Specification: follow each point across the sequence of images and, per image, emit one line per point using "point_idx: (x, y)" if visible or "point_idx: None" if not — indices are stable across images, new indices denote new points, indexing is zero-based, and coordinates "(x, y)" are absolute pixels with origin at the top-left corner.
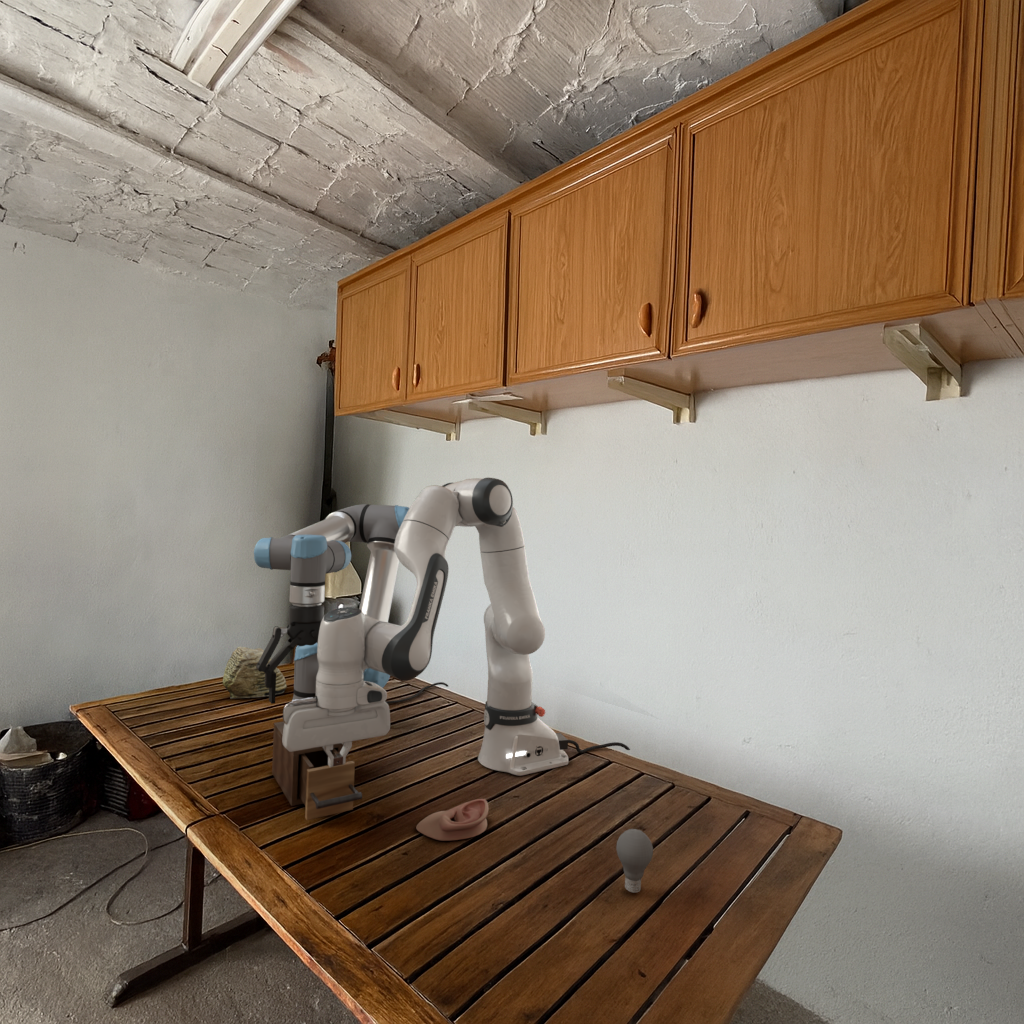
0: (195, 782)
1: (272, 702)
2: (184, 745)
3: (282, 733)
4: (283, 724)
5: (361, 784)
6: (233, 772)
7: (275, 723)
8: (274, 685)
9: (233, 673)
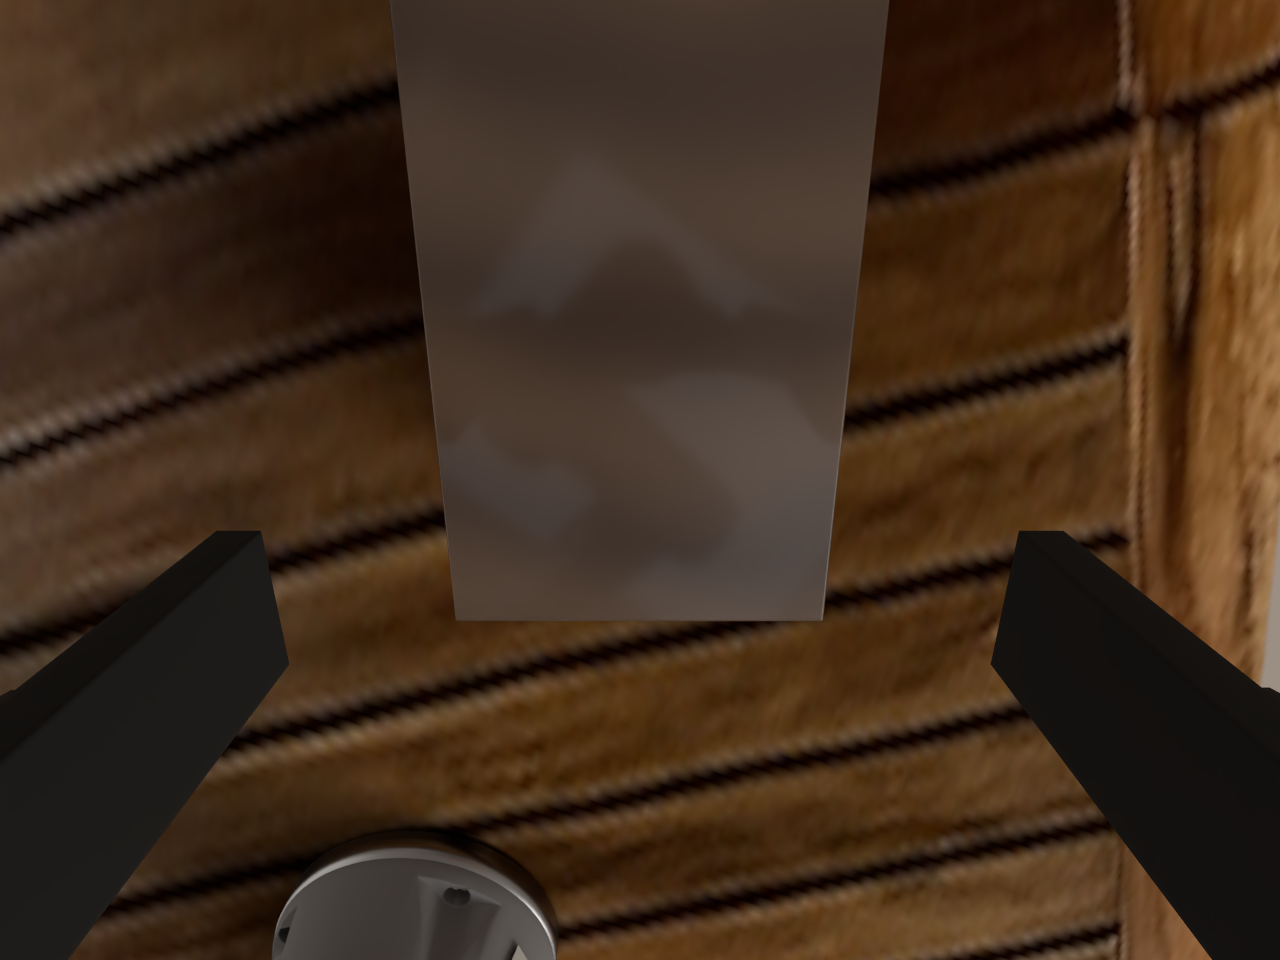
0: (1098, 535)
1: (1061, 535)
2: (1000, 905)
3: (844, 363)
4: (769, 559)
5: (341, 97)
6: (916, 566)
7: (817, 604)
8: (1205, 672)
9: None
